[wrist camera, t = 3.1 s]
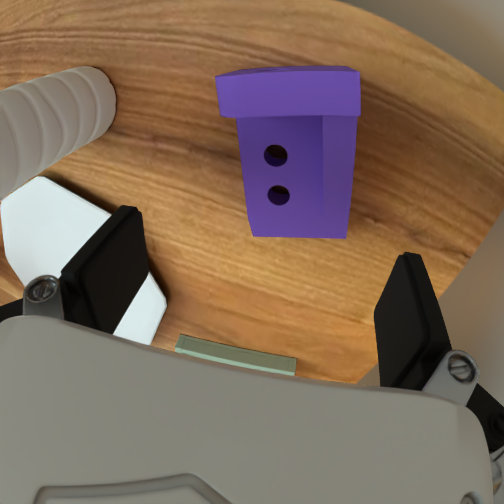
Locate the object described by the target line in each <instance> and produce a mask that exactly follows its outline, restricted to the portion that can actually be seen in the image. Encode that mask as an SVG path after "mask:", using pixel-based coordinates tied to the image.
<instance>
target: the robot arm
mask: <svg viewBox="0 0 504 504" xmlns="http://www.w3.org/2000/svg"><path fill="white" fill-rule="evenodd" d="M60 272H61V276H60V277H59V278H57V277H56V276H53V275H41V276H39V277H36V278H34V279H33V280H32V281H30V282H29V283H28V284H27V286H26V287H25V289H24V293H23V298H22V299H19V300H16V301H13V302H11V303H8V304H5V305H3V306H0V504H504V407H503V406H502V405H501V404H500V403H499V402H498V401H497V400H495V399H494V398H493V397H492V396H491V395H490V394H489V393H488V392H487V391H486V390H485V389H484V388H482V387H481V386H480V385H479V384H478V383H477V382H478V378H479V369H478V366H477V363H476V362H475V360H474V359H473V358H472V357H471V356H470V355H469V354H468V353H466V352H464V351H461V350H452V347H451V344H450V340H449V336H448V333H447V330H446V326H445V323H444V320H443V316H442V313H441V310H440V307H439V304H438V301H437V298H436V296H435V293H434V290H433V287H432V284H431V281H430V279H429V276H428V273H427V270H426V268H425V265H424V262H423V260H422V257H421V255H419V254H415V253H410V252H404V254H403V255H399V256H398V258H397V260H396V262H395V265H394V267H393V270H392V272H391V274H390V277H389V279H388V281H387V283H386V286H385V288H384V290H383V292H382V294H381V297H380V299H379V301H378V303H377V305H376V307H375V310H374V324H375V332H376V341H377V351H378V361H379V373H380V387H378V386H369V385H360V384H351V383H342V382H334V381H326V380H318V379H311V378H304V377H297V376H291V375H285V374H279V373H273V372H267V371H261V370H256V369H250V368H245V367H240V366H235V365H230V364H225V363H221V362H216V361H211V360H207V359H202V358H198V357H194V356H190V355H185V354H181V353H177V352H173V351H169V350H165V349H161V348H158V347H154V346H150V345H147V344H143V343H139V342H136V341H132V340H129V339H125V338H122V337H119V336H115V335H113V333H114V332H115V330H116V328H117V326H118V325H119V323H120V321H121V320H122V318H123V316H124V314H125V313H126V311H127V309H128V308H129V306H130V304H131V303H132V301H133V299H134V298H135V296H136V294H137V293H138V291H139V289H140V288H141V286H142V285H143V283H144V281H145V280H146V278H147V276H148V274H149V264H148V257H147V250H146V243H145V236H144V228H143V219H142V213H141V212H140V211H138V209H137V207H133V206H126V205H122V206H120V207H119V208H118V209H117V210H116V211H115V212H114V213H113V214H112V215H111V216H110V217H109V218H108V219H107V220H106V221H105V222H104V223H103V224H102V226H101V227H100V228H99V229H98V230H97V231H96V232H95V233H94V234H93V235H92V236H91V237H90V238H89V239H88V240H87V242H86V243H85V244H84V245H83V246H82V247H81V248H80V249H79V250H78V251H77V253H76V254H75V255H74V256H73V257H72V258H71V259H70V261H69V262H68V263H67V264H66V265H65V266H64V267H63V269H62V270H61V271H60Z"/></svg>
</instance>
